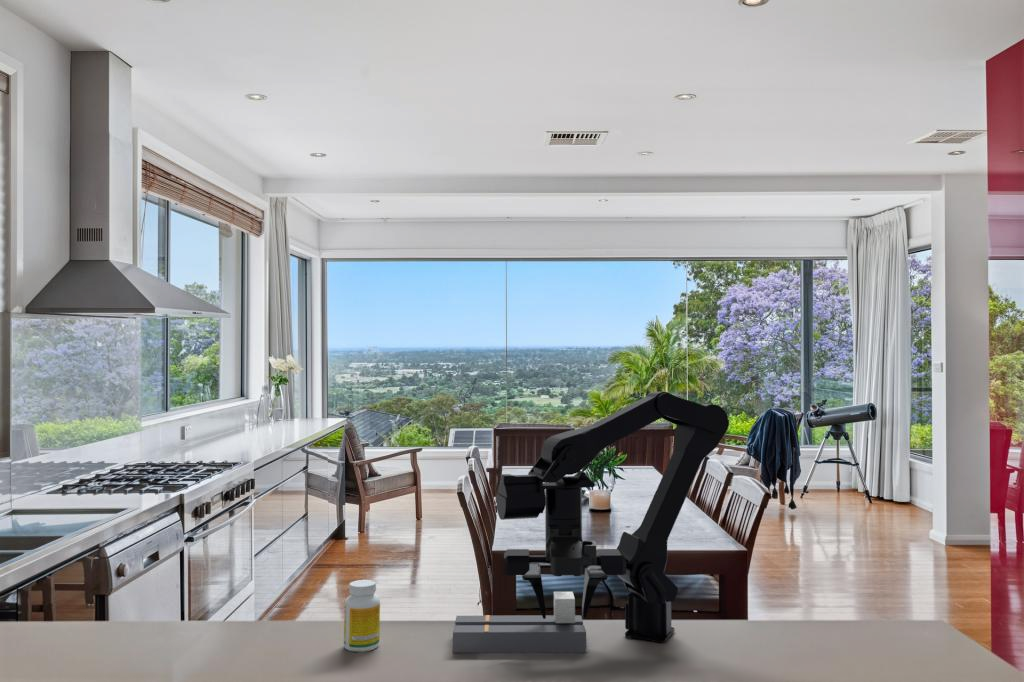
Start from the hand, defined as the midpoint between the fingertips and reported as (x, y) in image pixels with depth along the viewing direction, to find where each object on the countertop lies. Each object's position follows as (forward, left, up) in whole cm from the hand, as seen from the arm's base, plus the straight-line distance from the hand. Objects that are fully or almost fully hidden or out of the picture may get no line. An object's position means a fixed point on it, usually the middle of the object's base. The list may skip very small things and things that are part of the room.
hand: (564, 618), depth 116 cm
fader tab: (0, 0, -2) cm, 2 cm away
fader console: (+6, +3, -4) cm, 8 cm away
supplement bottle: (+27, +15, -4) cm, 31 cm away
